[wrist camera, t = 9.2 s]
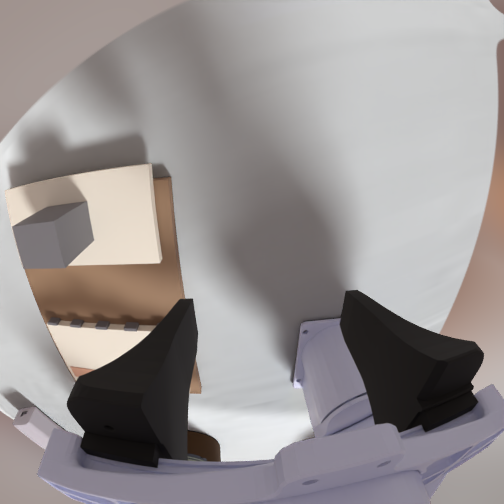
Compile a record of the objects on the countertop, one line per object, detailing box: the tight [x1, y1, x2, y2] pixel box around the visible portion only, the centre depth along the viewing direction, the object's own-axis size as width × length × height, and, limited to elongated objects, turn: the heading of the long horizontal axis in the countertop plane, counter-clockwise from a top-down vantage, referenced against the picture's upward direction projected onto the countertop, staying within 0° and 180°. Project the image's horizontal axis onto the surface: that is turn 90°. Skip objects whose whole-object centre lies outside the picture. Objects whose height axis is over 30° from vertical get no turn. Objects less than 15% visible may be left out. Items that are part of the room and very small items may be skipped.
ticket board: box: [25, 177, 201, 394], centre depth 23 cm, size 22×16×1 cm
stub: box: [5, 163, 162, 269], centre depth 16 cm, size 7×14×5 cm, turn 91°
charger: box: [13, 406, 65, 449], centre depth 33 cm, size 5×9×15 cm
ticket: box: [47, 317, 190, 394], centre depth 24 cm, size 9×14×1 cm, turn 91°
